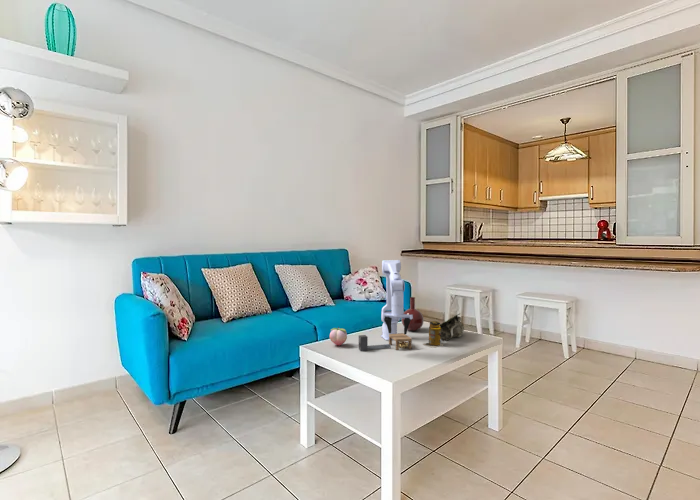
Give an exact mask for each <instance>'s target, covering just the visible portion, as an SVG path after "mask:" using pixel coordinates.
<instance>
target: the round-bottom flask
mask: <svg viewBox="0 0 700 500" xmlns="http://www.w3.org/2000/svg"><path fill="white" fill-rule="evenodd" d="M409 298H410V299H409V300H410V303H409V304H410V305H409V306H410V307H409V308H408V309H406V310H405V311H403V314H409V315H413V319H411V321H410V323H409V326H408V329H407V331H410V332H416V331H418V330H420V329H421V328H422V327H423V325H424V322H425V321H424V320H425V319H424V316H423V314H422V312H421V311H420V310H418V309H417V308H416V302H415V300H416V297H414V296H413V297H412V296H411V297H409ZM401 324H402V326H403V327H404V319H402V318H401Z"/></svg>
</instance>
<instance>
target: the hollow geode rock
mask: <svg viewBox="0 0 700 500" xmlns="http://www.w3.org/2000/svg"><path fill="white" fill-rule="evenodd" d="M459 315H461V313H458V314H455V315H454V316H452V317H450V318H449V319H447V320H445V321H444V322H442V323H440V328H441V340H442V341H443V342H447V341H448V340H450V339H452V338H454V337H458V338H459V337H461V336H462V335H463V332H464V331H465V326H464V324H463V323H462V317H461V316H459Z"/></svg>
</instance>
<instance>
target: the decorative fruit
mask: <svg viewBox="0 0 700 500" xmlns="http://www.w3.org/2000/svg"><path fill="white" fill-rule="evenodd" d="M347 339H348V333H347V330H346V329H345V328H340V327H339V326H338V327H333V328H331V329H330V333H329V340H330V341H331V342H332V343H333V344H334V345H336V346H342V345H343V344H345V342H347Z"/></svg>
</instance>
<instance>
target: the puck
mask: <svg viewBox="0 0 700 500" xmlns="http://www.w3.org/2000/svg"><path fill="white" fill-rule="evenodd" d="M399 349H408V341H404V342H399Z"/></svg>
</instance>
